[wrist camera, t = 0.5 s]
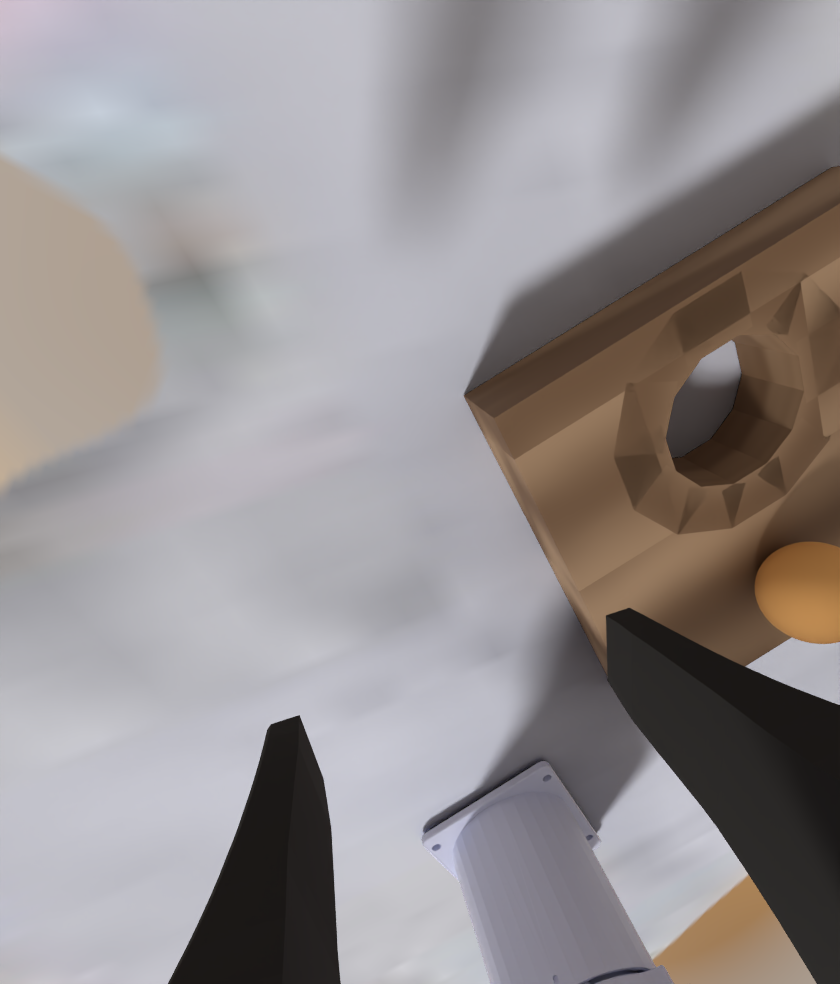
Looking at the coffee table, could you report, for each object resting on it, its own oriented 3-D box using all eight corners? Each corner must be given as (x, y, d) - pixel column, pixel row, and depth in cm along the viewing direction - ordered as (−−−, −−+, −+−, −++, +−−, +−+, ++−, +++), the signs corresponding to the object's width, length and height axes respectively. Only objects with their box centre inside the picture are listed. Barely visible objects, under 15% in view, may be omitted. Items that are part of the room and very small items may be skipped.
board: (870, 521, 29) (932, 549, 26) (611, 683, 29) (646, 728, 26) (831, 167, 20) (917, 155, 18) (463, 395, 20) (493, 418, 18)
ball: (817, 573, 25) (909, 627, 21) (741, 620, 25) (822, 683, 21) (805, 507, 23) (904, 555, 19) (723, 558, 23) (808, 615, 19)
